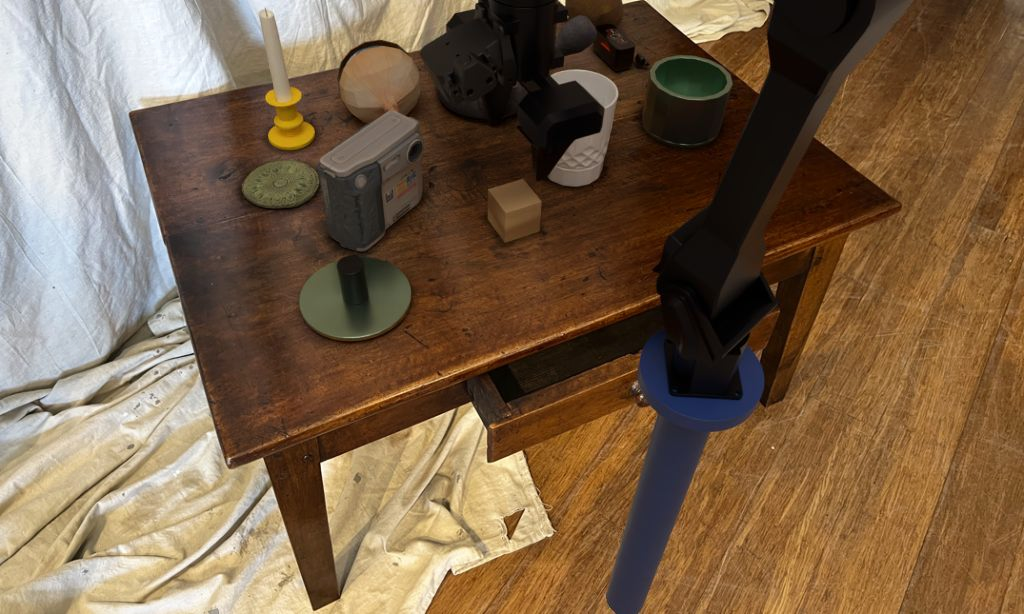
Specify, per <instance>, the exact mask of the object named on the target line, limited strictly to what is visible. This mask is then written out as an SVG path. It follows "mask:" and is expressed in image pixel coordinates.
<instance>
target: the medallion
mask: <svg viewBox="0 0 1024 614" xmlns="http://www.w3.org/2000/svg"><path fill="white" fill-rule="evenodd" d="M319 188H320V181H319V175H318V171H316V170H315V169H314V168H313V167H311V166H310V165H308V164H306V163H304V162H302V161H299V160H295V159H288V160H287V159H281V160H274V161H269V162H266V163H264V164H262V165H260V166H258V167H256V168H255V169H254V170H253V171H252V172H250V173H249V174H248V175H247V176H246V177H245V178H244V179H243V182H242V184H241V191H242V195H243V197H244V199H246V200H247V201H248V202H250V203H252V204H254V205H256V206H258V207H261V208H265V209H287V208H288V209H290V208H298V207H299V206H302V205H305V204H306V203H307V202H309V201H310V200H312V199H313V198H314V197H315V196H316V194H317V192H318V190H319Z"/></svg>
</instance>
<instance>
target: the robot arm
mask: <svg viewBox="0 0 1024 614" xmlns="http://www.w3.org/2000/svg"><path fill="white" fill-rule="evenodd" d="M913 2H914V0H773V1H772V7H771V9H770V10H771V11H770V15H769V19H768V24H767V27H766V28H767V29H766V41H767V48H768V59H769V67H768V72H767V74H766V77H765V79H764V82H763V84H762V87H761V88H760V90H759V93H758V95H757V98H756V99H755V102H754V105H753V107H752V109H751V112H750V113H749V116H748V118H747V120H746V122H745V124H744V127H743V129H742V132H741V134H740V136H739V138H738V140H737V142H736V145H735V148H734V150H733V151H732V154H731V157H730V159H729V161H728V164H727V165H726V168H725V170H724V173H723V174H722V177H721V179H720V181H719V184H718V186H717V188H716V191H715V193H714V195H713V198H712V200H711V202H710V203H708V204H707V205H705V207H703V208H702V209H701V210H699V211H698V212H696V214H694V215H692V216H691V218H689V219H687V220H686V221H685V222H684V223H683V224H682V225H680V226H679V227H678V228H676V229H675V230H673V231H672V232H671V233H669V234H668V235H667V236H666V239H665V241H664V244H663V246H662V254H661V258H660V261H659V262H658V264H656V265H655V266H653V268H652V270H651V271H652V272H653V273H656V274H658V275H657V276H656V282H655V292H656V295H658V296H659V300H660V307H661V312H662V320H663V327H664V328H665V335H666V337H667V338H666V339H665V340H664V352H665V361H666V371H667V381H668V391H669V394H670V395H671V396H674V397H688V398H706V399H723V400H740V399H741V398H742V396H743V390H742V384H741V379H740V373H739V368H738V365H739V363H740V360H741V357H742V355H743V352H744V350H745V347H746V345H747V346H748V342H749V339H750V336H751V332H752V330H754V329H755V328H756V327H757V326H758V325H759V324H760V323H761V322H762V321H763V320H764V319H765V318H767V316H768V315H769V314H770V313H771V312H772V311H773V310H775V308H777V306H778V305H779V303H778V300H777V298H776V296H775V294H774V292H773V290H772V288H771V286H770V284H769V282H768V280H767V278H766V276H765V274H764V272H763V270H762V268H763V264H764V260H765V257H766V254H767V250H768V248H767V243H766V238H765V230H766V227H767V225H768V223H769V221H770V219H771V218H772V216H773V214H774V212H775V210H776V208H777V207H778V204H779V203H780V201H781V199H782V197H783V195H784V193H785V191H786V189H787V188H788V186H789V185H790V182H791V181H792V178H793V177H794V174H795V173H796V171H797V169H798V167H799V166H800V164H801V161H802V160H803V158H804V156H805V154H806V152H807V150H808V149H809V146H810V145H811V143H812V141H813V139H814V138H815V135H816V133H817V132H818V130H819V128H820V127H821V124H822V123H823V122H824V121H823V120H824V118H825V117H826V115H827V113H828V112H829V109H830V108H831V106H832V104H833V102H834V100H835V99H836V96H837V94H838V92H839V90H840V89H841V87H842V85H843V83H844V82H845V80H846V79H847V78H848V77H849V75H851V73H852V72H854V69H856V68H857V66H858V65H859V64H860V63H861V62H862V61H864V59H865V58H866V57H867V56H868V55H869V53H870V52H871V51H872V50H873V49H874V48H875V47H876V46H877V45H878V44H879V43H880V41H882V40H883V38H884V37H885V36H886V35H887V34H888V33H889V31H890V30H891V29H892V28H893V27H894V25H895V24H896V23H897V21H898V20H899V19H900V18H901V16H902V15H903V14H904V13H905V12H906V10H907V9H908V8H909V7H910V5H911V4H912V3H913ZM568 20H569V18H568V9H567V8H566V7H565V4H563V3H562V2H561V1H560V0H477V2H475V4H474V8H472V9H466V10H463V11H458V12H455V13H453V15H452V16H451V17H450V19H449V20H448V21H447V22H446V24H445V33H443V34H441V35H439V36H438V37H436V38H434V39H432V40H431V41H429V42H428V43H426V44H425V45H423V46H422V48H420V51H419V56H420V59H421V61H422V63H423V65H424V67H425V69H426V71H427V73H428V76H429V77H430V79H431V81H432V84H433V86H434V87H435V86H436V87H437V88H438V89H439V91H440V92H441V93H442V95H443V96H444V97H445V99H446V100H447V101H448V102H449V103H451V104H458V103H461V102H463V101H464V100H466V101H469V102H473V101H475V100H477V99H478V98H480V97H481V98H482V101H483V104H484V108H485V111H486V114H487V117H488V119H487V120H488V124H489V126H490V127H491V128H496V127H499V126H501V125H502V124H503V121H504V118H505V117H504V116H505V113H506V110H507V106H508V103H509V99H510V95H511V92H512V88H513V85H514V83H515V82H516V81H518V83H519V84H520V85H521V86H522V87H523V88H524V89H525V90H526V91H527V92H528V94H527V95H526V96H525V97H524V98H523V100H522V101H521V102H520V103H519V104H518V113H517V116H516V117H517V119H518V122H519V125H516V129H517V131H519V132H520V133H521V135H522V136H523V137H524V138H525V139H526V140H527V142H528V143H529V144H530V152H531V164H532V174H533V178H534V180H535V181H536V182H540V181H545V180H546V179H547V178H548V175H549V174H550V173H551V171H552V170H553V168H554V167H555V166H556V164H557V163H558V162H559V160H560V159H561V157H562V156H563V155H564V153H565V152H566V151H567V149H568V148H569V147H570V145H571V144H572V143H573V142H574V141H575V140H576V139H580V138H583V137H586V136H590V135H593V134H597V133H600V132H601V129H602V126H603V118H604V111H605V108H604V107H603V106H602V105H601V104H600V103H599V102H598V101H597V100H596V99H595V98H594V97H593V96H592V95H591V94H590V93H589V92H588V91H587V90H586V89H585V88H584V87H583V86H582V85H580V84H579V83H578V82H577V81H576V80H574V81H570V82H567V83H563V84H558V83H557V82H556V81H555V80H554V79H553V78H552V77H551V74H550V73H551V71H552V70H555V69H560V68H563V67H564V65H565V56H564V55H563V54H562V53H561V52H560V51H559V50H558V49H557V48H556V47H555V42H556V37H557V26H558V24H562V23H565V22H566V23H567V22H568ZM436 87H435V88H436ZM664 328H663V329H664ZM667 342H670V343H671V344H669V343H667ZM673 390H676V391H677V392H674V391H673ZM735 393H737V394H739V395H736V394H735Z"/></svg>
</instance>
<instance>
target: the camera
mask: <svg viewBox="0 0 1024 614" xmlns="http://www.w3.org/2000/svg"><path fill="white" fill-rule="evenodd" d="M420 127H421V126H420V121H419V120H417V119H416V118H413V117H411V116H409V117H408V116H407V115H406V116H405V115H403V114H401V113H399V112H396V111H388V112H387V113H385V114H384V115H382V116H381V117H380V118H378V119H377V120H375V121H371V122H369V123H365V124H364V125H363V126H361V127H360V128H359V129H357V130H356V131H354V132H353V133H352V134H350V135H349V136H347V137H346V138H344V139H343V140H341V141H340V142H339V143H337V144H336V145H334V146H333V147H332V148H331V149H330V150H329V152H327V153H326V154H324V155H323V156H321V157H320V158H319V161H318V163H317V165H316V170H317V174H318V178H319V186H320V193H321V196H322V197H321V199H322V204H323V210H324V215H325V216H324V217H325V224H326V231H327V235H328V237H329V238H330V239H333V240H334V241H336V242H338V243H339V245H340V247H341V248H344V249H348V250H351V251H355V252H362V253H363V252H366V251H368V250H370V249H371V248H372V247H373V246H374V245H376V244H377V243H378V242H379V241H381V240H382V239H383V237H385V234H386V230H387V229H388V228H390V227H391V226H392V225H394V223H396V222H397V221H398V220H399V219H401V218H402V217H403V216H405V215H406V214H407V213H408V212H410V210H412V209H413V208H414V207H416V206H417V205H418V204H419V203H420V201H421V199H422V197H423V191H424V185H423V168H422V167H423V166H422V154H423V153H424V152H423V151H424V148H425V139H424V137H423V135H421V128H420Z"/></svg>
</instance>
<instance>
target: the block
mask: <svg viewBox="0 0 1024 614" xmlns="http://www.w3.org/2000/svg"><path fill="white" fill-rule="evenodd" d="M542 205H543V202H542V200H541V199H540V197H539V196H538V195H537V194H536V193H535V191H534V190H533V189H532V188H531V187H530V186H529V184H528V183H527V181H526V180H525V179H524V178H520V179H518V180H514V181H511V182H507V183H505V184H501V185H498V186H495V187H491V188H488V189H487V220H488V222H489V223H490V225H491V226H492V227H493V228H494V230H495V231H496V233H497V234H498V236H499V238H500V239H502V241H503V243H504V244H506V243H509V242H513V241H515V240H518V239H521V238H525V237H528V236H531V235H534V234H536V233H539V232H541V231H540V230H541V218H542V217H541V216H542Z"/></svg>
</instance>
